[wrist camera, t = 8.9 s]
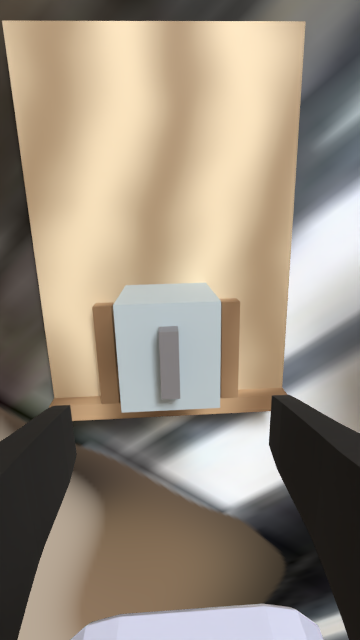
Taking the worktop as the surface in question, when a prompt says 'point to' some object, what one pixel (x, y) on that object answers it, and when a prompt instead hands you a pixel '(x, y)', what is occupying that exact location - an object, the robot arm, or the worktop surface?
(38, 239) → the wall board
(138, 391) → the cabinet block
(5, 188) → the worktop surface
